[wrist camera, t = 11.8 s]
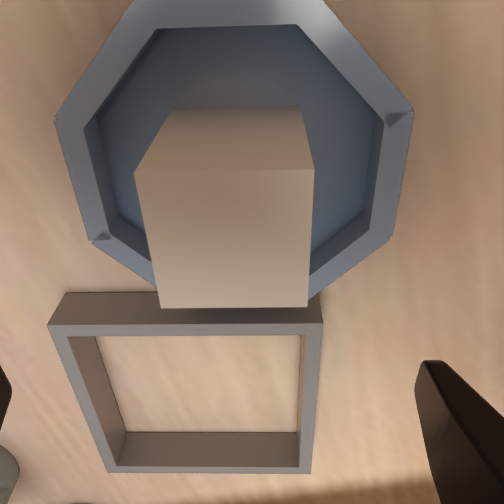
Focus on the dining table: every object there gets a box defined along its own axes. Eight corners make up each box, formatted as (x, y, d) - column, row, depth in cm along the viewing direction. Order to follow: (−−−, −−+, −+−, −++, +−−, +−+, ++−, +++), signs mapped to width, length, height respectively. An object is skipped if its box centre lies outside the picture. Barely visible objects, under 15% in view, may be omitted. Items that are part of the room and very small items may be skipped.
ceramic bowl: (414, -22, 15) (438, -18, 13) (369, 273, 22) (380, 305, 20) (50, -8, 16) (17, -3, 14) (122, 276, 23) (108, 308, 21)
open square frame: (317, 290, 23) (323, 323, 21) (307, 439, 31) (310, 474, 29) (65, 292, 24) (46, 325, 22) (117, 438, 32) (107, 472, 30)
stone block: (299, 106, 17) (314, 169, 12) (296, 218, 20) (307, 306, 15) (171, 109, 17) (133, 173, 12) (187, 220, 20) (161, 308, 15)
